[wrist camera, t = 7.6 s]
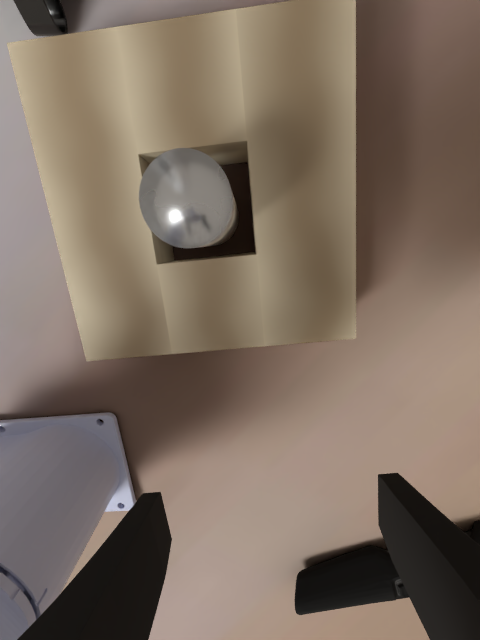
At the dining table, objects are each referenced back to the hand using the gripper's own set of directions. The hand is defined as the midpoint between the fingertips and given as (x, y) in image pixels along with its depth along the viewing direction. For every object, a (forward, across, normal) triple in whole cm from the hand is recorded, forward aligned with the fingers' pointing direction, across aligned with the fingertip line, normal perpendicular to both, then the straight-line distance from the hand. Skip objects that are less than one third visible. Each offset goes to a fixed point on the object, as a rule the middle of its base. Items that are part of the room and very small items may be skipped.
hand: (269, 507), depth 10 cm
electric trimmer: (+10, -9, +16) cm, 21 cm away
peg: (+10, +2, -10) cm, 14 cm away
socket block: (+10, +2, -10) cm, 14 cm away
